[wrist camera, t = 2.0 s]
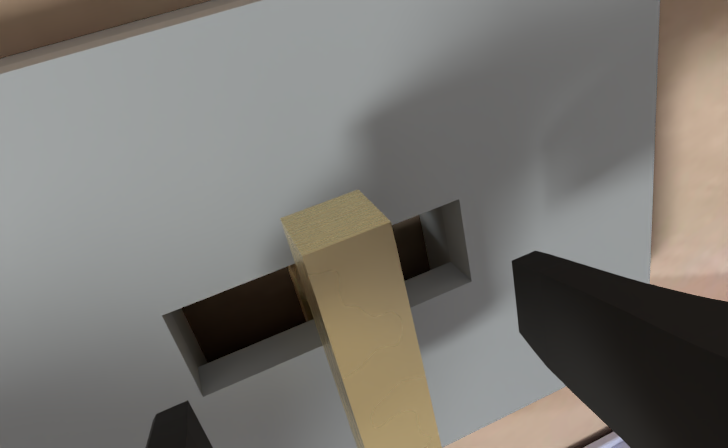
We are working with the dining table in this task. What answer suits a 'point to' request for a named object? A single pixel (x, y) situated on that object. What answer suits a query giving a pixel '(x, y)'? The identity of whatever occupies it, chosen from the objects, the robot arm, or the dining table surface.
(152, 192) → the lock housing
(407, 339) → the brass key
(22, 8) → the dining table surface
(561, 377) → the robot arm
